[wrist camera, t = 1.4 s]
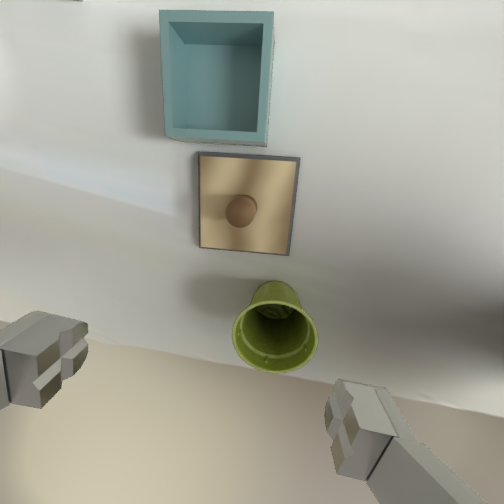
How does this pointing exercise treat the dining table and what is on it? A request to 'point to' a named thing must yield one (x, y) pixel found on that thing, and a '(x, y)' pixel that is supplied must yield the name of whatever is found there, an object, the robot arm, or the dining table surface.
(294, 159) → the mat
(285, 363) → the plant pot
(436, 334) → the dining table surface
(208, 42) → the teal open box
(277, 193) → the lid
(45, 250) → the dining table surface
